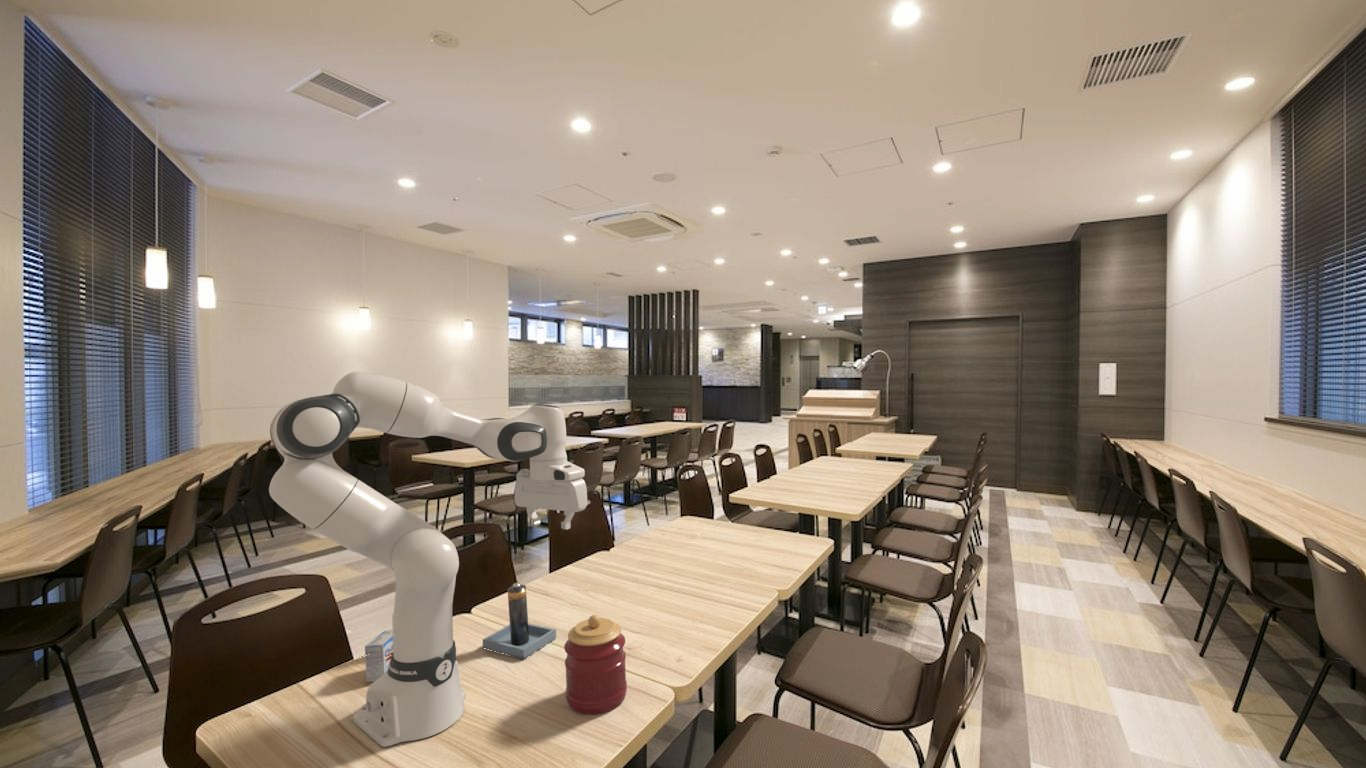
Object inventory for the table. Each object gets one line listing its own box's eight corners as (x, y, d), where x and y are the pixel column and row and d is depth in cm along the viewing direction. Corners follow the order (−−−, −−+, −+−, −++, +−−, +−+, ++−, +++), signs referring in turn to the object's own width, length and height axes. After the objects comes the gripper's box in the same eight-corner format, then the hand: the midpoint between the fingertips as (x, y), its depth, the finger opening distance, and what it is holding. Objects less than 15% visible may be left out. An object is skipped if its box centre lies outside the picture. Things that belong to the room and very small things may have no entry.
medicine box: (384, 682, 123) (383, 645, 123) (365, 682, 123) (364, 645, 123) (402, 664, 131) (401, 629, 131) (384, 665, 131) (383, 629, 131)
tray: (483, 649, 137) (482, 639, 137) (516, 629, 148) (516, 620, 148) (524, 660, 131) (523, 649, 131) (556, 638, 142) (555, 629, 142)
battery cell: (507, 643, 139) (503, 585, 139) (521, 635, 143) (518, 579, 143) (518, 646, 136) (514, 588, 136) (533, 639, 140) (529, 582, 140)
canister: (591, 675, 123) (589, 599, 123) (638, 689, 117) (636, 609, 117) (553, 706, 111) (550, 622, 111) (602, 723, 105) (599, 634, 105)
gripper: (507, 470, 131) (509, 526, 131) (573, 474, 122) (575, 534, 122) (525, 466, 137) (527, 520, 137) (590, 470, 128) (592, 527, 128)
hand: (550, 527), depth 129 cm, fingers open, 8 cm apart
